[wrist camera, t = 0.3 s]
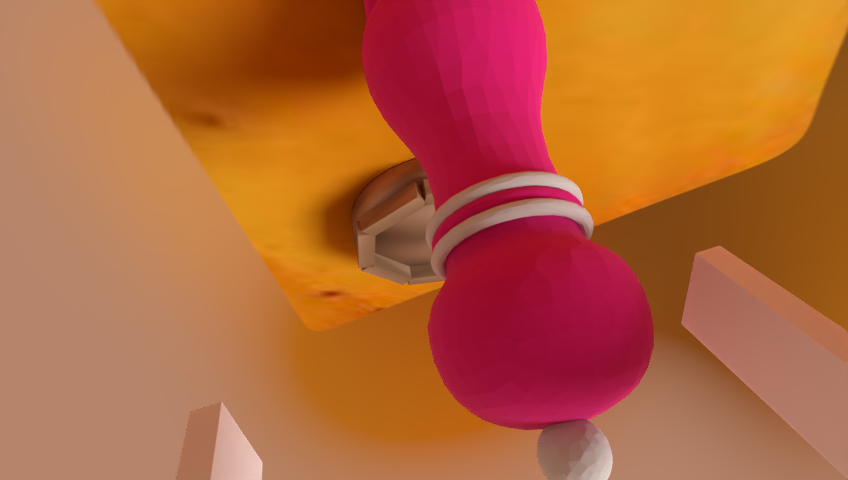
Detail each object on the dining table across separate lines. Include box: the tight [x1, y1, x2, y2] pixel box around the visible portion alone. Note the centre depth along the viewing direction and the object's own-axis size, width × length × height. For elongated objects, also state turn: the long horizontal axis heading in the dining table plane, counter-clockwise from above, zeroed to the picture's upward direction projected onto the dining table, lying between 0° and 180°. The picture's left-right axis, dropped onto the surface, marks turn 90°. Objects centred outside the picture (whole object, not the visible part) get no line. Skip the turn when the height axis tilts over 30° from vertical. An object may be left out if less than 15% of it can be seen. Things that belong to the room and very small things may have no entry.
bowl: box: [352, 158, 444, 285], centre depth 36 cm, size 14×14×3 cm
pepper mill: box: [361, 0, 654, 480], centre depth 16 cm, size 7×7×20 cm
